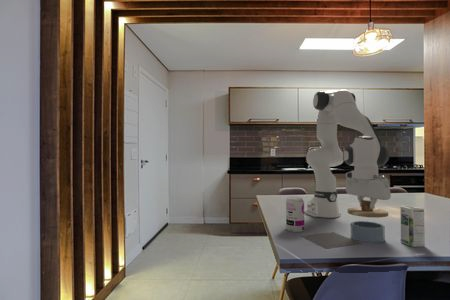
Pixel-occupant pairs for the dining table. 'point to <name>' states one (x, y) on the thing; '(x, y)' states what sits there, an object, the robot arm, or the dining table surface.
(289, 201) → the supplement can
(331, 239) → the charcoal mat
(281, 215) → the dining table surface
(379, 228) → the slate bowl
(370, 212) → the birch lid
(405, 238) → the syrup box
